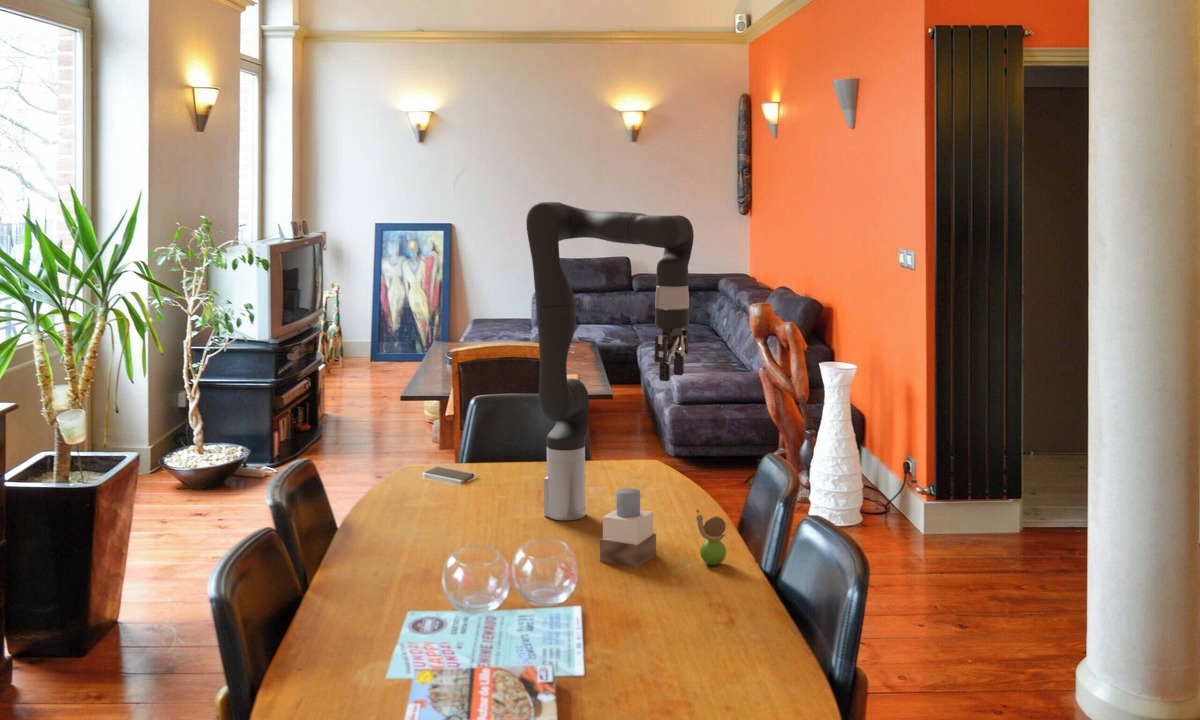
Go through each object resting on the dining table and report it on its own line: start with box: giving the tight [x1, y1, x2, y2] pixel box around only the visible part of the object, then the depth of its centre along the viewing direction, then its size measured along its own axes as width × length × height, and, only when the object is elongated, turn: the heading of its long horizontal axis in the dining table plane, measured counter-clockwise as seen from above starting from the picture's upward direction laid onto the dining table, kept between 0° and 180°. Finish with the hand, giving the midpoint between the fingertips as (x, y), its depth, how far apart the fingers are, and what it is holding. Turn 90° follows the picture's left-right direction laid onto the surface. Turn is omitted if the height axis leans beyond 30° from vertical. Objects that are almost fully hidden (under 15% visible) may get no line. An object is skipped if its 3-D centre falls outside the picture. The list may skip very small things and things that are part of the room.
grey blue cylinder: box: [615, 487, 641, 518], centre depth 226 cm, size 5×5×5 cm
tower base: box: [599, 532, 657, 569], centre depth 228 cm, size 9×9×5 cm
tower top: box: [602, 508, 654, 545], centre depth 227 cm, size 8×8×5 cm
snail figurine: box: [695, 508, 727, 566], centre depth 223 cm, size 5×6×12 cm
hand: (671, 377), depth 239 cm, fingers open, 8 cm apart
